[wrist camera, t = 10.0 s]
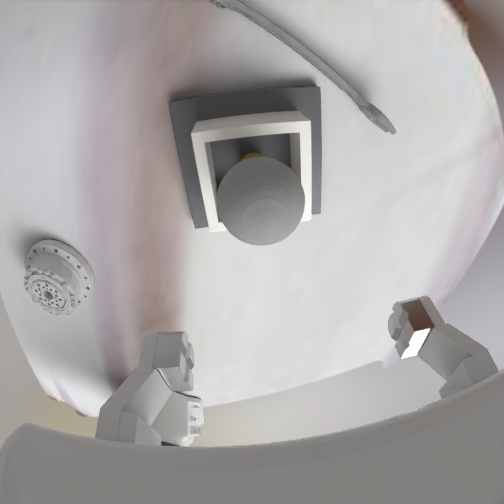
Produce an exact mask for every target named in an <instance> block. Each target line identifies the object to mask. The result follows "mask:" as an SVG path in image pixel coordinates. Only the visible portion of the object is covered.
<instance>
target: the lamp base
mask: <svg viewBox="0 0 504 504" xmlns="http://www.w3.org/2000/svg"><path fill="white" fill-rule="evenodd" d="M169 107H170V112H171V118H172V123H173V128H174V134H175V139H176V144H177V149H178V154H179V158H180V163H181V168H182V173H183V177H184V182H185V187H186V191H187V195H188V200H189V204H190V209H191V213H192V217H193V221H194V226H195V229H196V228H203V227H209V230H210V232H218V231H226V230H227V228H226V227H225V226H224V224H223V223H222V221H221V219H220V217H219V214H218V210H217V192H218V188H219V185H220V183H221V181H222V179H223V178H224V176H225V175H226V173H227V172H228V171H229V170H230V169H231V168H232V167H233V166H234V165H236V164H237V163H239V162H240V161H241V159H242V158H243V157H244V156H245V155H247V154H249V153H258V154H260V155H261V156H262V157H268V158H272V159H275V160H278V161H280V162H281V163H283V164H285V165H286V166H288V167H289V168H290V169H292V171H293V172H294V173H295V174H296V175H297V177H298V179H299V181H300V183H301V185H302V187H303V190H304V194H305V207H304V213H303V216H302V219H301V221H300V222H302V221H311V215H312V214H320V213H321V170H322V135H321V93H320V87H318V86H297V87H276V88H262V89H251V90H241V91H233V92H225V93H217V94H210V95H204V96H198V97H192V98H187V99H181V100H176V101H171V102H170V103H169Z"/></svg>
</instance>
